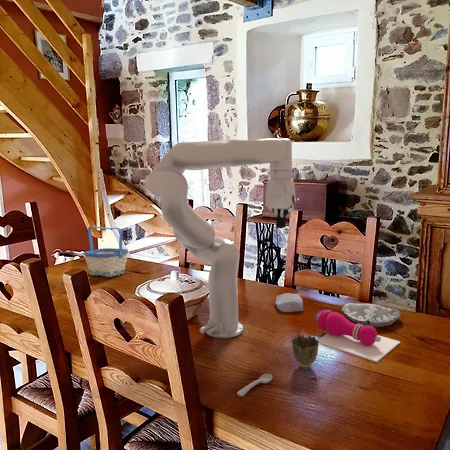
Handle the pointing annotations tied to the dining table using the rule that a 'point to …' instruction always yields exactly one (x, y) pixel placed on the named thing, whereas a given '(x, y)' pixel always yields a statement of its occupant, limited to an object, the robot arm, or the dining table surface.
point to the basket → (106, 257)
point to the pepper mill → (347, 328)
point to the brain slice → (371, 314)
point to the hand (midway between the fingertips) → (281, 227)
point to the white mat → (359, 346)
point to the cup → (305, 350)
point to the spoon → (263, 379)
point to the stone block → (289, 302)
